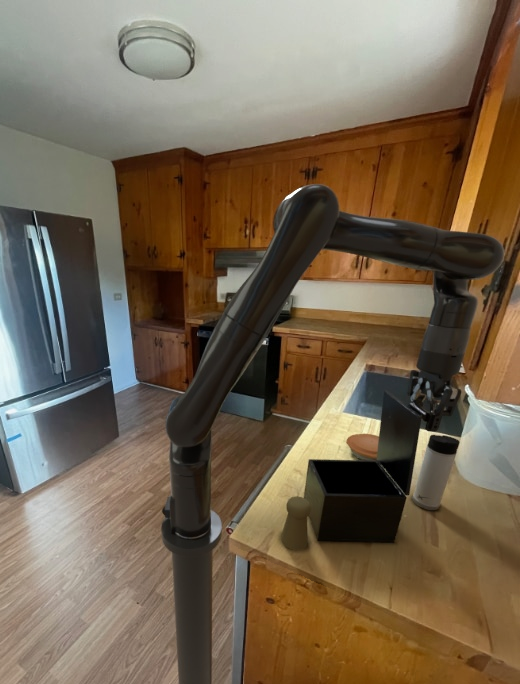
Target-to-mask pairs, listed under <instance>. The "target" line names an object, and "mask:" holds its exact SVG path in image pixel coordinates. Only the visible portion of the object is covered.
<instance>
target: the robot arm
mask: <svg viewBox="0 0 520 684" xmlns="http://www.w3.org/2000/svg"><path fill="white" fill-rule="evenodd" d="M338 199H339V198H338V196H337V195H336V192H335V191H333V189H332V188H330V187H329V186H328V185H325V184H320V183H312V184H307V185H304V186H301V187H299V188H297V189H296V190H294V191H292V193H290V194H288V195H287V196H286V197H285V198H284V199H282V201H281V202H280V203H279V205H278V206H277V207H276V209H275V212H274V215H273V219H272V228H273V236H272V238H271V240H270V242H269V244H268V246H267V248H266V250H265V252H264V254H263V256H262V258H261V259H260V260H259V263H258V264H257V266H256V267H255V269H254V270H253V271H252V272H251V273H250V275H249V276H248V277H246V279H245V281H244V282H243V283H242V284H241V285H240V287H239V288H238V289H237V291H236V292H235V293H234V294H233V296H232V297H231V298H230V300H229V302H228V303H227V305H226V306H225V308H224V310H223V312H222V314H221V315H220V317H219V319H218V321H217V322H216V325H214V328H213V330H212V332H211V334H210V335H209V339H208V341H207V343H206V345H205V349H204V350H203V353H202V355H201V359H200V361H199V363H198V367H197V370H196V371H195V375H194V377H193V378H192V381H191V382H190V384H189V386H188V387H187V389H186V390H185V392H183V393H180V394H179V395H178V396H175V398H174V399H173V400H172V402H171V403H170V406H169V409H168V411H167V414H166V417H165V423H164V424H165V433H166V435H167V438H168V439H169V442H170V443H169V453H168V454H169V455H168V458H169V459H168V464H169V480H170V481H169V482H170V483H169V484H170V496H167V498H166V503H165V505H164V506H163V507H162V509H161V513H162V515H163V516H164V519H165V518H168V519H169V518H170V523H171V534H175V535H177V536H178V537H180V538H182V539H186V540H195V539H199V538H202V537H203V536H205V535H206V534H207V533H208V532H209V531H210V529H211V510H212V444H213V443H212V429H213V426H214V424H215V421H216V420H217V417H218V416H219V414H220V411H221V409H222V407H223V405H224V404H225V403H224V402H225V401H226V399H227V398H228V396H229V394H230V393H231V391H232V390H233V389H234V387H235V386H236V384H237V383H238V381H239V380H240V379H241V377H242V375H244V373H245V371H246V370H247V368H248V367H249V365H250V364H251V362H252V360H253V359H254V358H255V356H256V355H257V353H258V351H259V350H260V348H261V347H262V345H263V343H264V342H265V340H266V339H267V337H268V335H269V333H270V332H271V330H272V328H273V326H274V324H275V323H276V321H277V319H278V318H279V316H280V314H281V313H282V311H283V309H284V307H285V306H286V305H287V302H288V301H289V298H290V296H291V294H292V293H293V291H294V289H295V288H296V286H297V284H298V282H299V281H300V280H301V278H302V277H303V275H304V274H305V273H306V272H307V270H308V269H309V267H310V266H311V264H313V262H314V261H315V259H316V258H317V257H318V255H320V253H321V251H322V250H323V251H333V252H340V253H345V254H349V255H350V254H351V255H356V256H359V257H363V258H367V259H370V260H374V261H379V262H382V263H386V264H390V265H394V266H398V267H401V268H402V267H403V268H408V269H412V270H416V271H433V273H432V275H433V276H432V277H433V279H432V280H433V281H432V282H433V283H432V284H433V289H432V290H433V292H432V293H433V305H432V308H431V312H430V316H429V320H428V324H427V327H426V330H424V331H425V332H424V335H423V338H422V341H421V347H420V350H419V354H418V356H417V357H418V358H417V361H416V365H415V366H416V368H417V369H411V370H410V374H409V380H408V385H407V392H406V396H408V397H410V401H411V403H412V402H415V403H416V404H418V405H419V406H421V407H422V408H423V407H424V402H425V400H426V402H427V404H429V413H430V414H429V416H428V420H427V422H425V427H424V429H425V430H426V432H431V433H432V432H433V433H436V432H437V431H438V430H439V429H440V425H441V421H442V419H443V417H452V416H453V414H454V411H455V409H456V407H457V404H458V402H459V401H460V398H461V395H462V389H461V388H455V387H453V386H452V378H453V377H454V376H457V375H458V374H459V373H460V371H461V367H462V365H463V361H464V359H465V358H464V357H465V355H466V351H467V348H468V344H469V341H470V335H471V329H472V327H473V323H474V320H475V315H476V312H477V309H478V304H479V299H478V297H477V296H476V295H474V294H472V293H470V292H469V291H468V280H469V281H470V280H471V281H474V280H481V279H484V278H487V277H489V276H491V275H493V273H495V272H497V270H498V269H499V268H500V267H501V265H502V264H503V262H504V258H505V248H504V246H503V244H502V242H501V241H500V240H498V239H497V238H496V237H494V236H492V235H488V234H484V233H478V232H477V233H476V232H468V231H459V230H458V231H457V230H448V229H443V228H440V227H436V226H432V225H428V224H424V223H420V222H416V221H411V220H405V219H397V218H389V217H388V218H387V217H376V216H367V215H359V214H354V213H350V212H347V211H346V212H345V211H343V210H340V203H339V200H338ZM437 405H438V406H437Z"/></svg>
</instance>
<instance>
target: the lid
mask: <svg viewBox="0 0 520 684" xmlns="http://www.w3.org/2000/svg"><path fill="white" fill-rule="evenodd" d="M380 414H381V415H380V416H381V417H380V422H379V423H380V424H379V434H378V436H379V441H378V450H377V460H378V461H379V463H380V464H381V466H382V467H383V468H384V469H385V471H386V472H387V473H388V474H389V476H390V477H391V478H392V479H393V481H394V482H395V483H396V484H397V486H398V487H399V488H400V489H401V491H402V492H403V493H404V494H405V496H410V492H411V487H412V486H411V485H412V481H413V475H414V474H413V473H414V468H415V462H416V461H415V460H416V456H417V449H418V444H419V439H420V438H419V437H420V431H421V425H422V421H423V422H424V423H427V420H428V416H429V414H430V411H428V410H426V409H425V408H423V407H421V406H419V405H418V404H416V403H415V402H412V401H411V402H410V403H408V405H407V404H406V403H405V402H403V400H400V399H399V398H398V397H397V396H395V395H394V394H393V393H391V392H390V391H389V390H384V391H383V397H382V406H381V413H380Z"/></svg>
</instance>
